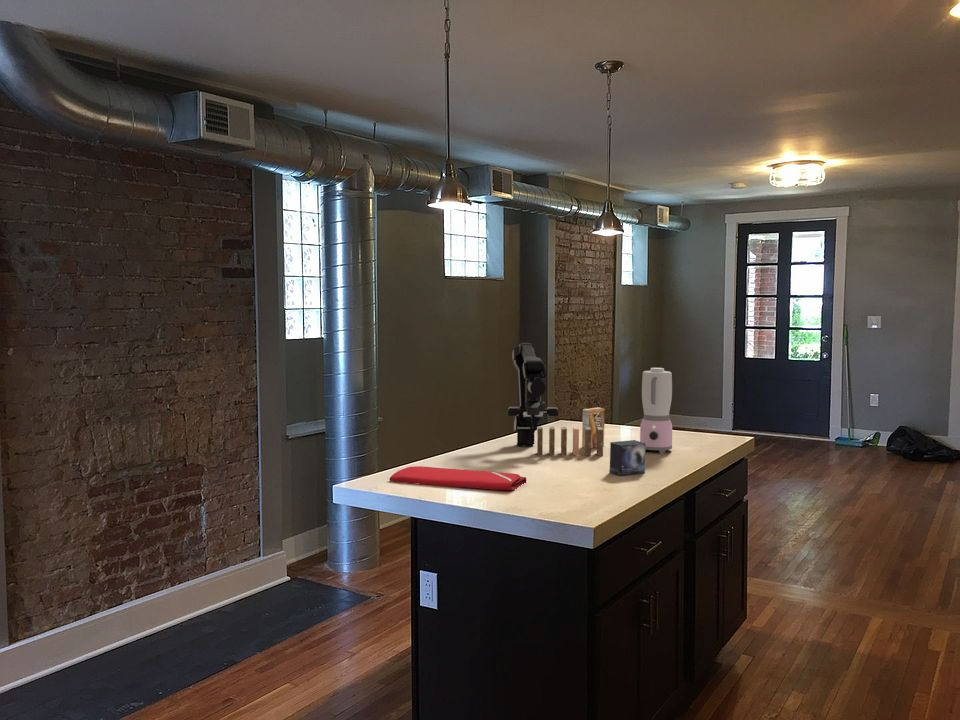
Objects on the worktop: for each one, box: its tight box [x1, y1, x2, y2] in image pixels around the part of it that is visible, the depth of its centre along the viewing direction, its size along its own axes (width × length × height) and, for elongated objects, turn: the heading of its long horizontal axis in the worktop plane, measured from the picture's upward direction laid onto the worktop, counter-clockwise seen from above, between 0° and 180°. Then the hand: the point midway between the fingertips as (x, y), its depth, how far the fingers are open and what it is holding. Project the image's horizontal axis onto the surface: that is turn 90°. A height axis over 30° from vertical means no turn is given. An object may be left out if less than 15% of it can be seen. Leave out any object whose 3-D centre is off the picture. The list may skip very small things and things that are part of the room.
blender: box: [639, 367, 673, 454], centre depth 303 cm, size 16×12×32 cm
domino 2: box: [548, 426, 556, 456], centre depth 298 cm, size 2×6×10 cm, turn 177°
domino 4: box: [572, 426, 580, 456], centre depth 297 cm, size 2×6×10 cm, turn 177°
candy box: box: [581, 407, 606, 449], centre depth 312 cm, size 9×4×15 cm, turn 129°
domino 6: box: [596, 427, 604, 457], centre depth 297 cm, size 2×6×10 cm, turn 177°
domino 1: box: [536, 426, 544, 456], centre depth 298 cm, size 2×6×10 cm, turn 177°
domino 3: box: [560, 426, 568, 456], centre depth 297 cm, size 2×6×10 cm, turn 177°
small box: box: [608, 439, 646, 477], centre depth 264 cm, size 11×6×10 cm, turn 117°
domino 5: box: [584, 427, 592, 457], centre depth 297 cm, size 2×6×10 cm, turn 177°
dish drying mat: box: [389, 465, 527, 491], centre depth 251 cm, size 16×41×4 cm, turn 68°
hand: (532, 434), depth 298 cm, fingers closed
